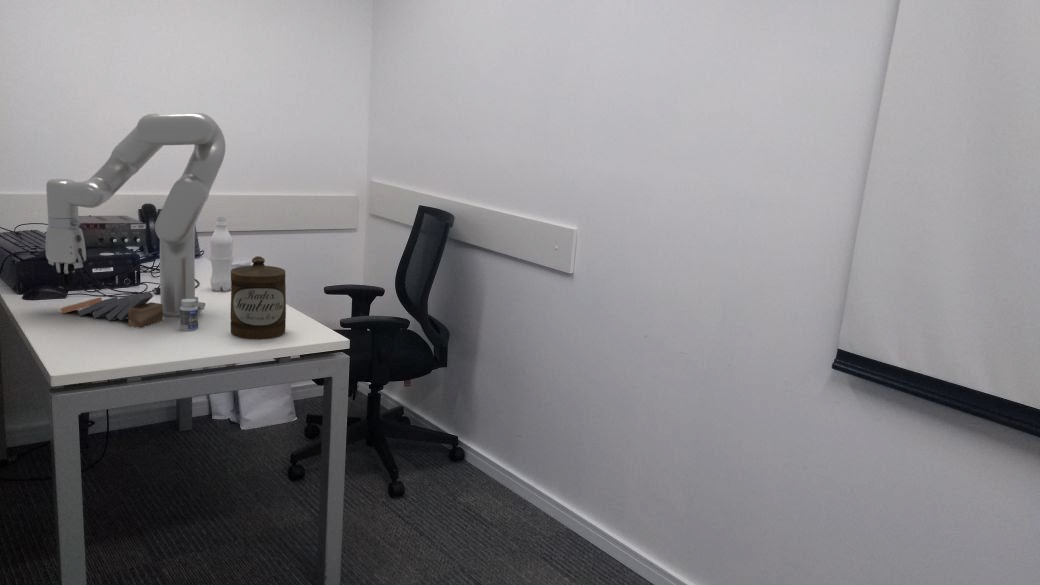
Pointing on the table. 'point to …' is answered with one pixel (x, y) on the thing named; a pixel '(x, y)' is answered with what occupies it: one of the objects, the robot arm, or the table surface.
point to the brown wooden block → (145, 314)
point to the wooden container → (258, 301)
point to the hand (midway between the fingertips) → (66, 285)
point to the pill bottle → (189, 315)
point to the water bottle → (221, 256)
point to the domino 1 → (80, 305)
